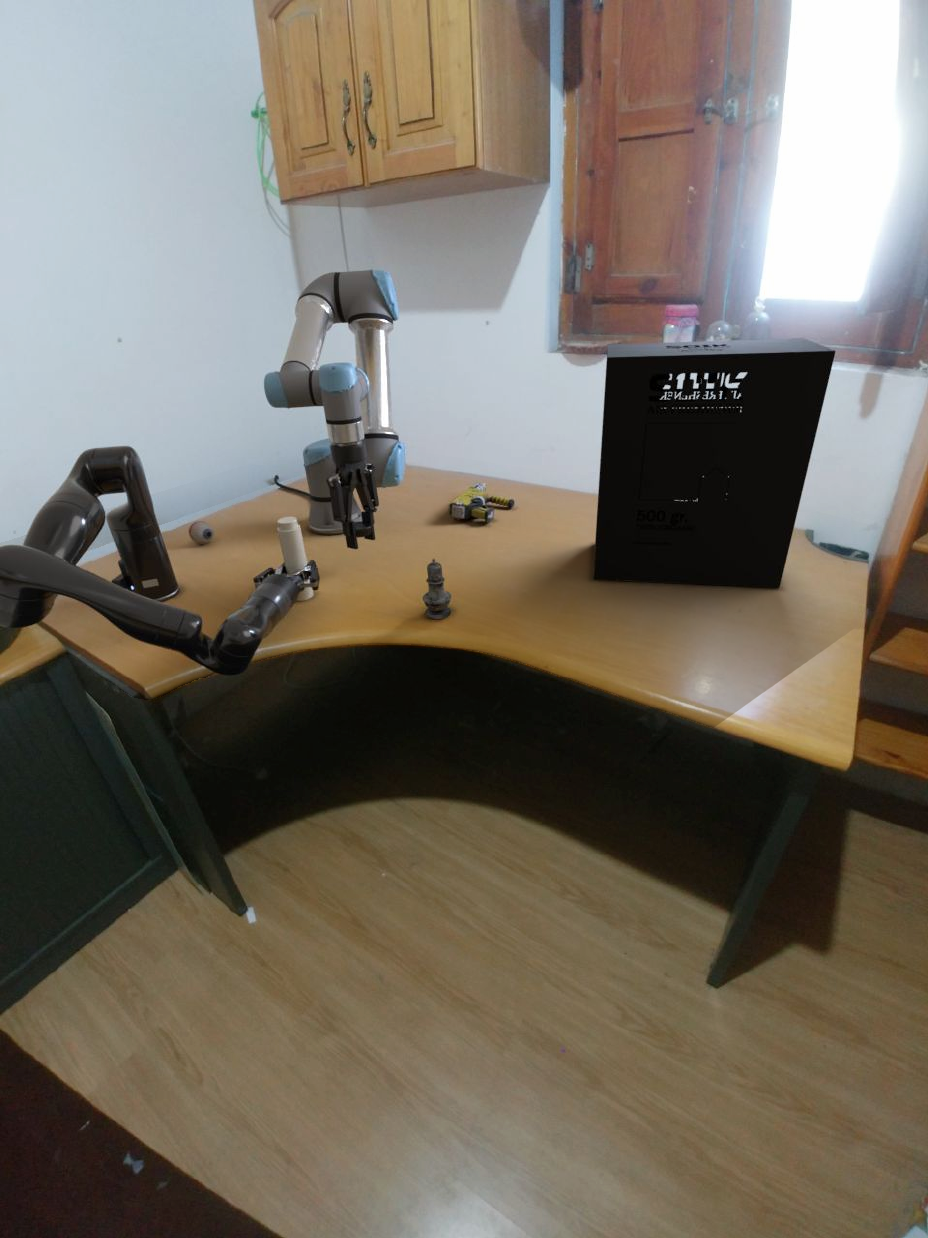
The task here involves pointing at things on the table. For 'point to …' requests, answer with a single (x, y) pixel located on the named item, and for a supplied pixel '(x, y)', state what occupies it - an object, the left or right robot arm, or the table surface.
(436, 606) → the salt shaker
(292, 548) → the jar
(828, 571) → the table surface
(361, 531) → the lid
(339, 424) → the right robot arm
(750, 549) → the cardboard box
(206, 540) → the eyeball
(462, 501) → the toy gun
